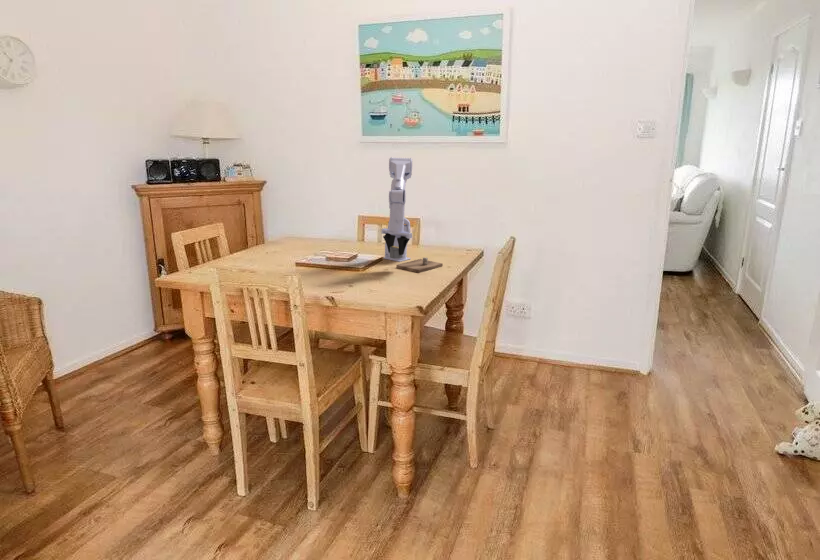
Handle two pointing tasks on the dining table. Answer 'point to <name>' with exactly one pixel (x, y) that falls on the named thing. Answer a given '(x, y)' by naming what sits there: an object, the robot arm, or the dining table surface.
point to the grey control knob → (395, 252)
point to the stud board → (419, 265)
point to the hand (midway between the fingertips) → (396, 253)
